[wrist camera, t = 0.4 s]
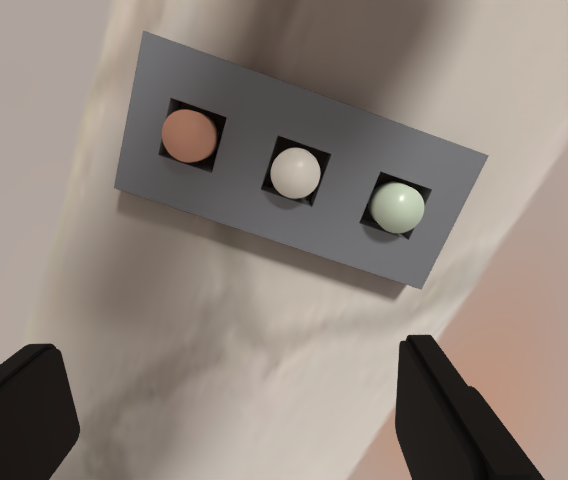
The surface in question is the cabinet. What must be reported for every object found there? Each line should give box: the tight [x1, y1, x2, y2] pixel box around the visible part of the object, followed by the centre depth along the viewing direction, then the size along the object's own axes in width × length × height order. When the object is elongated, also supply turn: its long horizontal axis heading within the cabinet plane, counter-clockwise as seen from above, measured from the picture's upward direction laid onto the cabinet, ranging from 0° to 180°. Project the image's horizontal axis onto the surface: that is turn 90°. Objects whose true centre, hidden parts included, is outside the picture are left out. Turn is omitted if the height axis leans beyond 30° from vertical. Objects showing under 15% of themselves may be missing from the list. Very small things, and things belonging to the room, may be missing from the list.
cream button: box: [271, 147, 320, 198], centre depth 32 cm, size 4×4×3 cm
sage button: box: [368, 181, 424, 233], centre depth 32 cm, size 4×4×3 cm
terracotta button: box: [162, 110, 219, 162], centre depth 31 cm, size 4×4×3 cm
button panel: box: [114, 31, 488, 289], centre depth 33 cm, size 14×32×3 cm, turn 71°
